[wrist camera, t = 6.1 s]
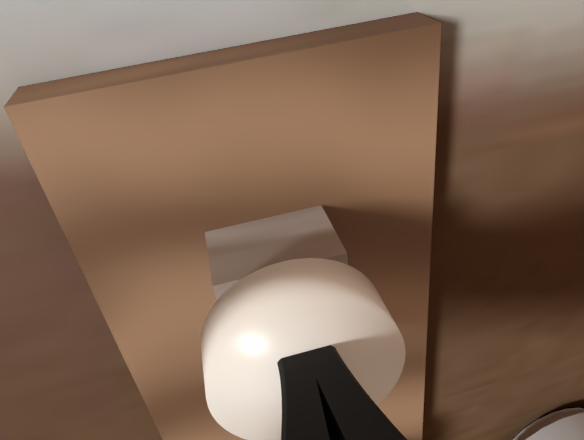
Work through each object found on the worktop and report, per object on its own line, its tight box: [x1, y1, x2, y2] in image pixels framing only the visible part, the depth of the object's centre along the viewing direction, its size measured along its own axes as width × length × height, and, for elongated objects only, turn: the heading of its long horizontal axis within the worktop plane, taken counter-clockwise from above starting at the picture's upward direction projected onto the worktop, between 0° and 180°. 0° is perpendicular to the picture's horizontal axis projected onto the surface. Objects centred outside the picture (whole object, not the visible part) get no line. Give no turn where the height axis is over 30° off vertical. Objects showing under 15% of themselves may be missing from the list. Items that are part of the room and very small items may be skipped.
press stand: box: [4, 12, 442, 440], centre depth 19 cm, size 26×11×4 cm, turn 7°
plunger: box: [201, 258, 406, 440], centre depth 14 cm, size 5×5×4 cm
